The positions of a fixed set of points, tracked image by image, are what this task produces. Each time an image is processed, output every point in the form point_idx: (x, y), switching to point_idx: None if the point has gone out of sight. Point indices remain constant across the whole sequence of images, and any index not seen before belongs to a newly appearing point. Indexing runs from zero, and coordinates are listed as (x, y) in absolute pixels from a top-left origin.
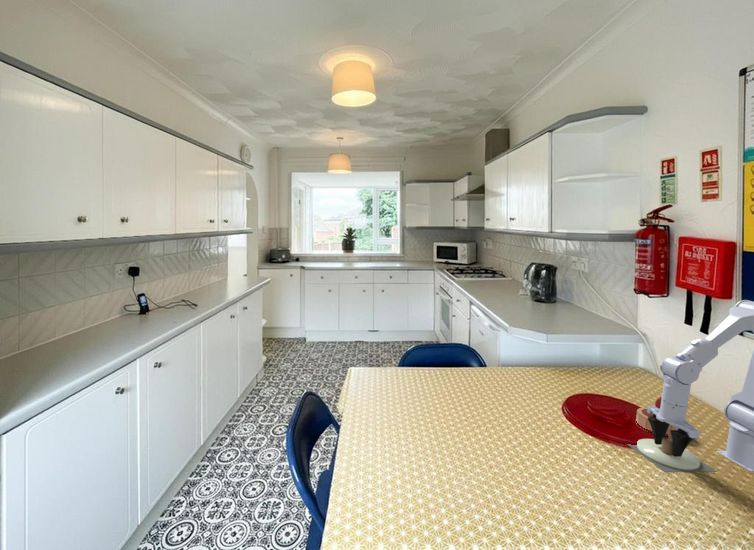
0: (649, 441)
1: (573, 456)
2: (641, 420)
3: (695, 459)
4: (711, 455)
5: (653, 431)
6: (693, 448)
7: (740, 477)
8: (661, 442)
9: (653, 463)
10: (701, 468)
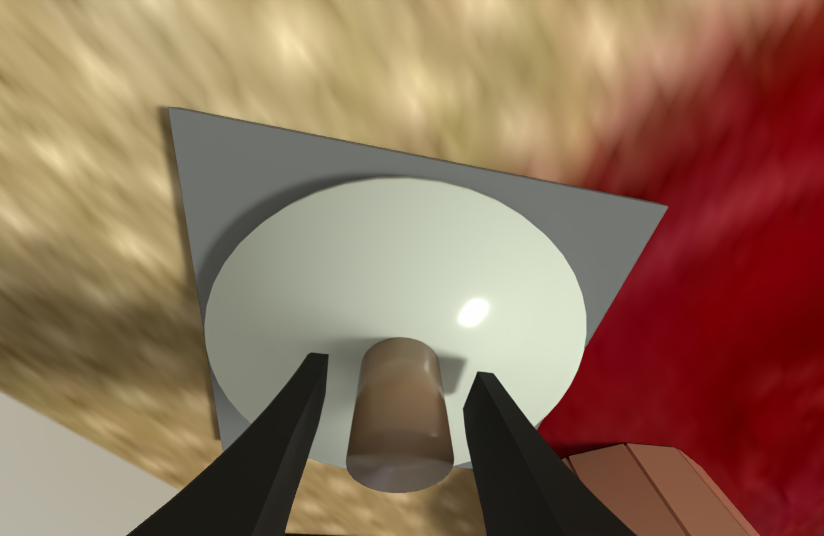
0: (539, 373)
1: None
2: (701, 503)
3: None
4: (372, 516)
5: (550, 460)
6: (433, 502)
7: None
8: (469, 412)
9: (304, 135)
10: None
